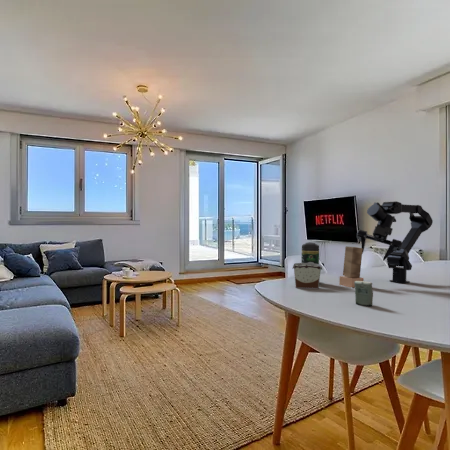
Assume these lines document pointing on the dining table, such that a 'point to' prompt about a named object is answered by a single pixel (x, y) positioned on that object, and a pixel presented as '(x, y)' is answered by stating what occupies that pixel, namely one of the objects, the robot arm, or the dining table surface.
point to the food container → (307, 275)
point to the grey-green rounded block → (363, 293)
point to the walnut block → (352, 262)
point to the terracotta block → (349, 281)
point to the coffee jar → (310, 253)
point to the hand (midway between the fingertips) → (372, 257)
